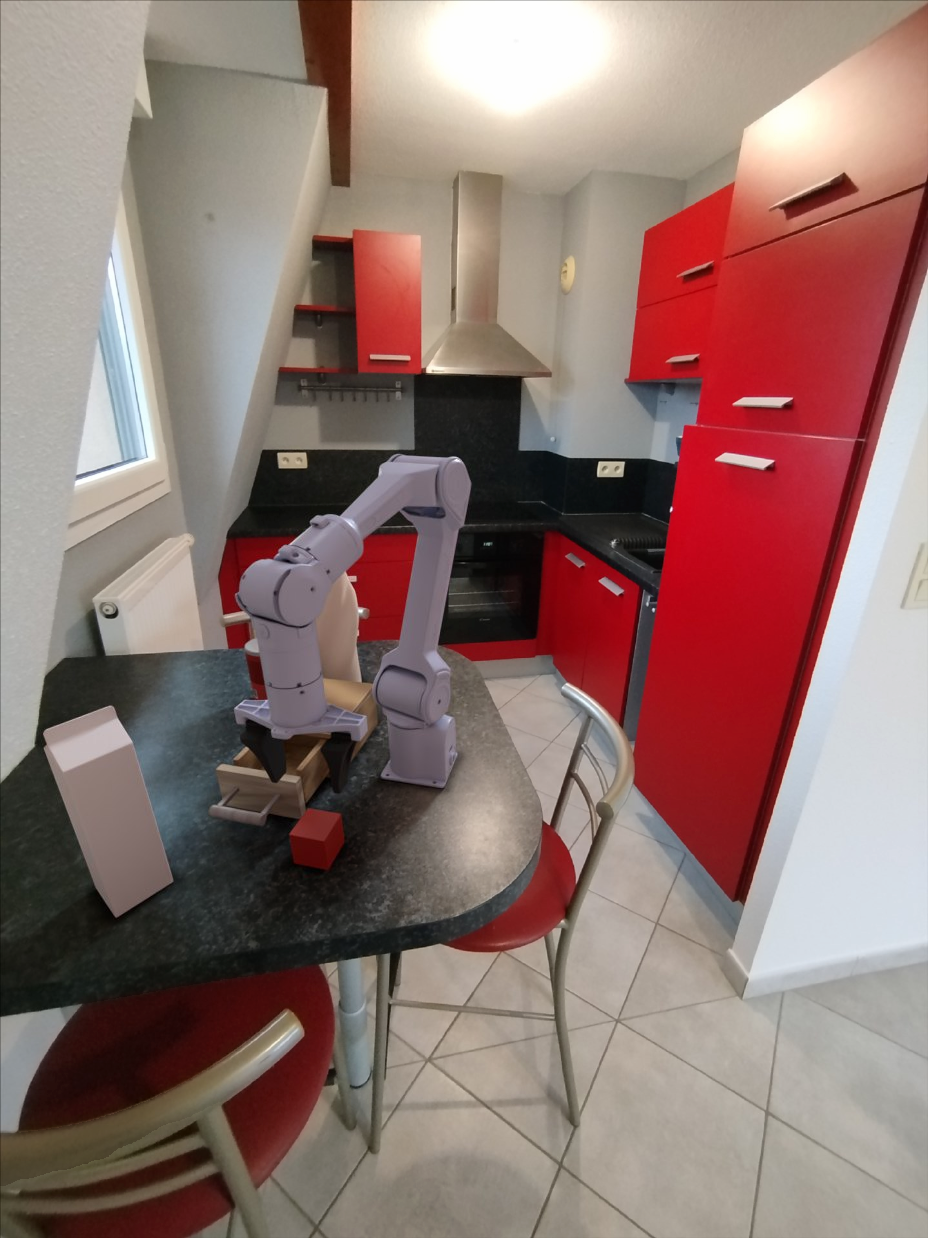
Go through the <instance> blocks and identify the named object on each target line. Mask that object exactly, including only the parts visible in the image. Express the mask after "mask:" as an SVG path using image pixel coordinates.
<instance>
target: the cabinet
mask: <svg viewBox="0 0 928 1238" xmlns="http://www.w3.org/2000/svg"><path fill="white" fill-rule="evenodd" d="M323 682H324V690H325V698H326V702H327V703H330V704H332V705H335V706H337V707H340V708H342V709H345V710H347V711H349V712H352V713H355V714H359V715H365V716H366V717H367V728H368V731H367V733H366V734H365V736H364V737H363V738H362V740H361V741H357V744H356V746H355V749H354V752H353V755H352V758H351V762H350V764H351V763H352V762H353V760H354V759H355V757H356V756H357V755H358V753H359V752H360V750H361V749H362V747H363V746H364V745H365V743H366V742H367V740H368V739H369V737H370V736H371V735H372V733H373V732H374V730H375V728H377V725H378V724H379V720H378V710H377V709H378V708H377V706H378V705H377V704H376V703H375V701H374V699H373V692H372V691H373V683H370V682H353V681H345V680H336V679H327V678H323ZM299 735H306V736H313V737H320V738H327V739H329V738H331V733H310V734H299ZM325 778H328V779H331V777H330V772H329V773H328V774H327V776H326V777H325Z"/></svg>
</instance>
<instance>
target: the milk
mask: <svg viewBox="0 0 928 1238" xmlns="http://www.w3.org/2000/svg"><path fill="white" fill-rule="evenodd" d="M42 735H43V738H44V741H45V743H46V745H45V746H43V751H44V752H45V756H46V758H47V761H48V764H49V766H50V770H51V772H52V774H53V777H54V780H55V783H56V785H57V788H58V790H59V794H60V797H61V799H62V801H63V804H64V807H65V809H66V812H67V814H68V817H69V820H70V823H71V825H72V828H73V831H74V833H75V837H76V838H77V839H76V840H77V841H78V844H79V847H80V849H81V852H82V854H83V857H84V860H85V864H86V866H87V868H88V871H89V873H90V877H91V879H92V882H93V885H94V887H95V889H96V890H97V892H98V893H99V895H100V897H101V898H102V900H103V902H104V903H105V904H106V905H107V907H108V908H109V910H110V912H111V913H112V914H113V916H114V917H115V918H116V919H117V918H119V917H120V916H122V915H123V914H125V913H127V912H128V911H130V910H131V909H132V908H134V907H136V906H137V905H139V904H141V903H142V902H144V901H145V900H147V899H149V898H151V896H153V895H155V894H156V893H158V892H159V891H162V890H163V889H164V888H166V887H168V886H169V885H170V884H173V882H174V877H173V875H172V871H171V868H170V864H169V860H168V856H167V853H166V851H165V846H164V844H163V841H162V837H161V834H160V829H159V827H158V823H157V820H156V817H155V814H154V810H153V806H152V803H151V800H150V797H149V793H148V790H147V786H146V782H145V779H144V776H143V773H142V770H141V765H140V762H139V758H138V756H137V752H136V749H135V746H134V742H133V740H132V739H131V737H130V735H129V733H127V731H126V729H125V727H124V725H123V724H122V722H121V721H120V720H119V717H118V715H117V712H116V709H115V707H114V706H113V705H108V706H106V707H102V708H99V709H97V710H95V711H92V712H89V713H87V714H84V715H81V716H79V717H75V718H73V719H71V720H68V721H64V722H63V723H60V724H57V725H53V726H52V727H49V728H46V729H44V731H43V734H42Z"/></svg>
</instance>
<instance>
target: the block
mask: <svg viewBox="0 0 928 1238" xmlns="http://www.w3.org/2000/svg"><path fill="white" fill-rule="evenodd" d="M288 836H289V837H288V838H289V842H290V847H291V854H292V859H293V864H296V865H301V866H306V867H310V868H314V869H321V870H325V871H329V870H330V868H331V866H332V864H333V863H334V862H335V859H336V858H337V856H338V854H339V852H340V851H341V849H342V848H343V846H344V844H345V833H344V825H343V817H342V813H338V812H332V811H328V810H327V811H326V810H321V809H315V808H310V807H308V808H306V812H305V813H304V815H303V816H302V817H301V819H298V822H297V823H296V824H295V826H294V827H293V828H292V830H291V831H290V832H289V834H288Z"/></svg>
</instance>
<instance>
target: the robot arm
mask: <svg viewBox="0 0 928 1238" xmlns="http://www.w3.org/2000/svg"><path fill="white" fill-rule="evenodd" d="M471 488H472V481H471V479H470V476H469V473H468V469H467V467H466V465H465V463H464V461H462V459H461V458H459V457H457V456H449V457H441V456H439V457H437V456H420V455H419V456H418V455H406V454H402V453H396V454H393V455H391V457H389V458H388V460H387V461H386V462H384V463H383V462H382V463H381V464H380V465H379V468H378V476H377V478H375V480H373V482H372V483H371V484H370V485H368V486H367V488H366V489H365V490H364V491H363V492H362V493H361V494H360V495H359V496H358V497H357V498H356V499H355V500H354V501H353V502H352V503H351V504H350V505H349V506H348V507H347V508H346V509H345V510H344V511H343V512H342V513H341V514H340V515H337V514H331V513H330V514H329V513H328V514H324V515H319V514H318V515H315V516H314V517H313V518H312V519H311V520H310V521H309V524H310V526H309V527H308V528H307V529H305V531H303V532H302V533H301V534H300V535H298V536H297V537H296V538H295V539H294V540H293V541H292V542H290V543H289V544H288V545H287V544H284V545H283V546H281V548H279V549H278V551H277V552H278V553H276V555H275V556H274V557H273V559H271V558H265V559H264V558H263V559H259V560H257V561H254V562H253V563H251V565H250V566H248V568H247V569H246V570H245V571H244V572H243V573H242V576H241V577H240V581H239V585H238V592H236V593H235V594H234V598H235V601H236V603H237V605H238V607H239V609H241V610H242V612H244V613H245V614H247V615H248V617H249V619H250V622H251V628H252V630H254V631H255V636H256V638H257V642H258V647H259V653H260V659H261V665H262V670H263V676H264V682H265V687H266V693H267V699H268V700H257V701H256V700H254V699H251V700H250V699H244V700H243V701H242V702H240V703H239V704H238V705H237V706H235V707H234V708H233V713H234V717H235V722H236V723H235V724H237V725H243V726H244V725H245V727H244V730H243V731H242V732H241V733H240V734H239V740H240V743H241V744H242V745H244V746H245V747H248V748H249V749H250V750H251V751H252V752H253V753H254V755H255V756H256V757H257V758H258V760H259V761H260V763H261V764H262V766H263V767H264V769H265V771H266V773H267V774H268V776H269V778H270V780H271V782H272V783H278V781H279V780H280V779H281V778H282V777H283V775H284V774H285V773H286V768H287V766H286V756H285V750H284V739H289V738H291V737H292V736H293V735H296V734H310V733H331V738H329V739H328V740H327V742H326V743H325V744H324V745H323V746H322V748H321V753H322V754H323V756H324V758H325V760H326V762H327V765H328V768H329V771H330V777H331V778H330V783H331V789H332V791H333V793H334V794H338V795H339V794H341V793H342V792H343V790H344V788H345V787H346V786H347V784H348V780H349V772H350V766H351V763H352V761H351V758H352V755H353V752H354V749H355V746H356V744H357V741H361V740H362V738H363V737H364V736H365V734H366V733H367V731H368V728H367V717H366V716H365V715H359V714H355V713H352V712H349V711H347V710H345V709H342V708H340V707H337V706H335V705H332V704H330V703H327V702H326V698H325V690H324V682H323V674H322V667H321V659H320V651H319V643H318V634H317V626H316V618H318V617H319V615H320V614H321V612H322V610H323V608H324V605H325V601H326V597H327V595H328V593H329V592H330V591H331V587H332V584H333V583H334V582H335V581H336V580H337V579H338V578H339V577H340V576H341V575H342V574H343V573H344V572H345V571H346V572H347V571H348V570H350V568H351V567H352V566H353V565H354V564H355V563H356V562H357V561H358V560H359V559H360V558H361V557H362V555H363V554H364V540H365V539H366V538H367V537H368V536H370V535H371V534H373V532H374V531H376V530H377V529H379V528H380V527H381V526H382V525H383V524H385V523H386V522H388V520H390V519H391V518H392V517H394V516H395V515H396V514H397V513H398V512H400V513H401V514H402V516H404V518H405V519H406V520H407V521H409V522H410V523H412V525H413V526H414V528H415V530H416V532H417V539H416V546H415V552H414V557H413V562H412V568H411V574H410V580H409V585H408V591H407V597H406V602H405V608H404V613H403V619H402V625H401V630H400V636H399V642H398V646H397V647H396V648H394V649H392V650H390V651H389V652H387V653H385V654H384V655H382V657H381V663H380V667H379V669H378V672H377V674H376V675H375V677H374V680H373V683H372V684H373V691H372V692H373V699H374V701H375V703H376V706H379V707H382V715H383V716H385V717H386V719H387V720H386V722H387V733H388V735H387V736H388V745H389V746H388V748H389V749H388V750H389V760H388V762H387V763H386V765H385V767H384V768H383V770H382V771H381V773H380V778H381V779H382V780H388V781H394V782H399V783H400V782H401V783H407V784H412V785H420V786H425V787H433V788H437V789H443V788H445V787H446V785H447V782H448V780H449V777H450V775H451V773H452V770H453V768H454V765H455V762H456V761H457V758H458V752H457V725H456V719H455V717H454V716H450V715H447V714H446V713H447V711H448V709H449V706H450V703H451V697H452V694H451V693H452V692H451V683H450V681H451V674H452V669H451V667H450V666H449V665H448V664H447V663H446V662H445V660H444V659H443V658H442V657H441V656H440V654H439V652H438V645H439V639H440V633H441V629H442V623H443V618H444V613H445V608H446V601H447V596H448V591H449V585H450V579H451V575H452V569H453V563H454V557H455V551H456V546H457V543H458V542H457V541H458V535H459V530H460V529H461V528H463V527H464V526H465V520H466V515H467V510H468V506H469V505H468V504H469V500H470V495H471ZM350 762H351V763H350Z"/></svg>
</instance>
